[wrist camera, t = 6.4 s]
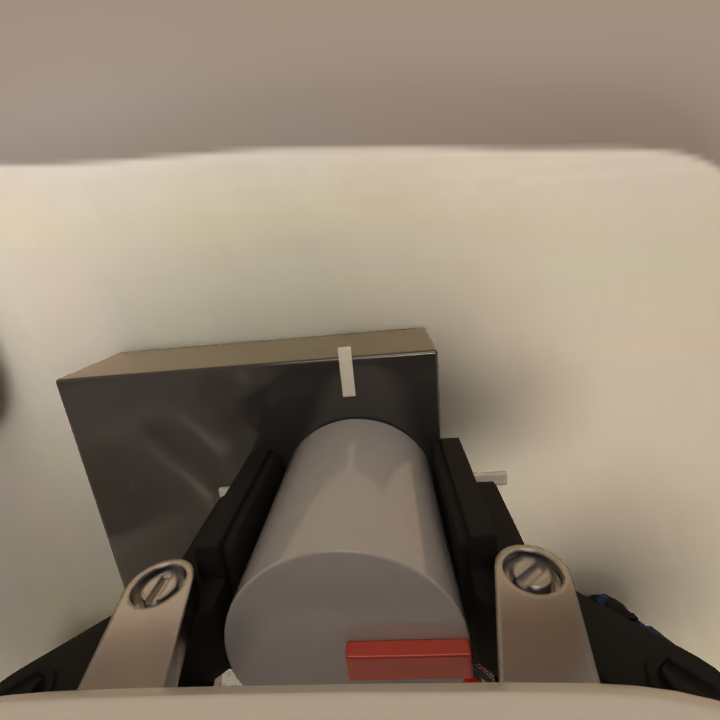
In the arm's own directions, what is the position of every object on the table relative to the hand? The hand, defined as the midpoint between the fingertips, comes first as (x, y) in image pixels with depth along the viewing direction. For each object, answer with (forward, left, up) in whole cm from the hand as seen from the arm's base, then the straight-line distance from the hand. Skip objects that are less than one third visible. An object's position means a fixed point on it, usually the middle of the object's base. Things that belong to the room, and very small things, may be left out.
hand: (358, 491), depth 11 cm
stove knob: (0, 0, 0) cm, 0 cm away
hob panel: (-3, 0, -3) cm, 4 cm away
